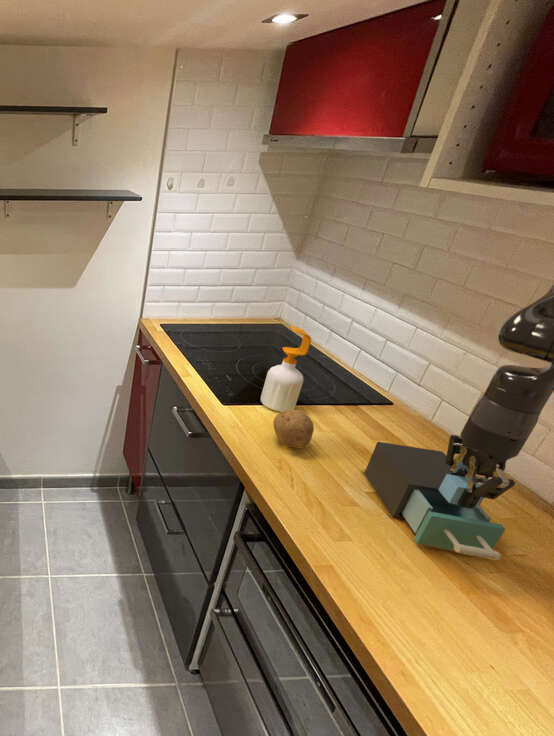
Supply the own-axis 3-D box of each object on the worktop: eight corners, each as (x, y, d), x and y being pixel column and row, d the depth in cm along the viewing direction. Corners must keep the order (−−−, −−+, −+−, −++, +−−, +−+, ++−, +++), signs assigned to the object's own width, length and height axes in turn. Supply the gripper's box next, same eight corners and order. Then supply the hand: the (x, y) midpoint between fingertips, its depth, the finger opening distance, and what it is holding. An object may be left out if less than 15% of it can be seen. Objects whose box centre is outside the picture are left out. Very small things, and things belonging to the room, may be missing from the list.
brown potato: (274, 429, 121) (284, 397, 117) (311, 443, 115) (323, 411, 111) (263, 444, 115) (273, 411, 111) (302, 460, 109) (314, 426, 105)
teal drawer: (506, 580, 79) (526, 551, 76) (431, 565, 82) (447, 536, 79) (446, 506, 95) (461, 480, 92) (385, 496, 97) (397, 469, 94)
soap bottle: (256, 394, 137) (276, 320, 127) (288, 398, 135) (311, 323, 125) (264, 410, 129) (287, 333, 119) (298, 414, 127) (324, 336, 117)
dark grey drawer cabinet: (464, 530, 90) (484, 496, 86) (392, 517, 93) (409, 483, 89) (426, 483, 103) (442, 451, 99) (364, 472, 105) (377, 441, 102)
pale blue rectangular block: (464, 494, 86) (474, 478, 84) (477, 508, 83) (486, 491, 81) (438, 489, 87) (446, 473, 85) (449, 503, 84) (458, 486, 82)
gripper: (449, 399, 85) (415, 470, 92) (501, 444, 72) (456, 522, 79) (497, 405, 83) (458, 477, 90) (559, 453, 71) (508, 532, 78)
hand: (458, 498), depth 85 cm, fingers closed on pale blue rectangular block, 3 cm apart
